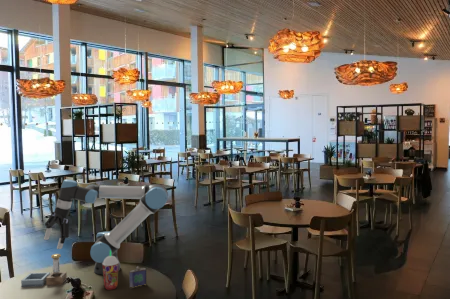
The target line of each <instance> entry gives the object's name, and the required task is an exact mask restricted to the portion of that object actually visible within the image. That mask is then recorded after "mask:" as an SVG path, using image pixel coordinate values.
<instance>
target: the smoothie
mask: <svg viewBox="0 0 450 299" xmlns="http://www.w3.org/2000/svg"><path fill="white" fill-rule="evenodd" d="M118 260H119V259H118ZM118 260H117V258H116V257H115V256H111V251H110V256H107V257H106V258H105V259H104V261H103V263H102V264H103V274H102V275H103V284H104V285H103V286H104V288H105V290H107V291H111V290H115V289H116V288H117V287H118V284H119V271H118V266H119V262H120V260H119V261H118Z"/></svg>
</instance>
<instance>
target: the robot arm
mask: <svg viewBox="0 0 450 299" xmlns="http://www.w3.org/2000/svg"><path fill="white" fill-rule="evenodd" d="M168 195H169V194H168V190H167V188H166V187H165V186H164V185H162V184H159V183H158V184H145V185H143V186H141V185H140V186H139V185H137V186H135V185H101V184H100V185H98V184H97V185H96V184H93V183H91V184H88V185H86V187H84V186H79V185H78V182H77V181H76V180H74V179H67V178H66V179H64V180H63V181H62V184H61V187H60V191H59V195H58V198H57V201H56V206H55V208H54V211H52V212H51V214H50V216H49V217H48V219H47V220H46V222H45V224H44V226H45V227H46V229H45V233H44V237H43V240H46V241H48V240H50V237H51V233H52V230H53V229H52V228H53V226H55V225H56V224H58V226H59V230H60V231H59V232H60V236H59V239H58V242H57V246H56V250H62V249H63V246H64V243H65V240H66V239H67V238H68V239H69V236H70V232H69V226H70V219H69V218H68V219H67V216H68V215H69V214H70V211H71V208H72V207H71V206H72V204H73V200H77V201H81V202H85V203H87V204H94V203H96V200H97V199H121V200H122V199H125V200H126V199H131V200H139V202H138V204H137V205H136V206H135V207H133V209H132V210H131V211H130V212H129V213H128V214H127V215H126V216H125V217H124V218H123V219H122V220H121V221H119V223H118V224H117V225H115V227H113V229H112V230H110V231H101V232H97V233H96V241H95V242H94V244H93V245H91V247H90V252H89V253H90V257H91V260H93V261H94V262H95V264H94V266H93V267H94V268H93V269H94V270H93V272H94V273H95V274H97V275H103V264H102V263H103V261H104V259H105V258H106V257H107V256H110V251H111V256H115V257H116V258H117V260H118V261H119V266H118V272H119V271H120V270H121V269H120V268H121V263H120V260H119V257H118V250H119V249H120V247H121V243H122V242H123V241H124V240H125V239H126V238H127V237H129V235H130V234H131V233H133V232H134V230H135V229H136V228H138V227H139V226H140V225H141V224H142V222H144V221H145V220H146V219H147V217H148V216H150V215H152V214H153V215H154V214H155V213H156V212H158V211H159V210H160V209H162V208H163V207H164V206H166V204H167V201H168Z"/></svg>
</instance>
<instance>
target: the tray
mask: <svg viewBox="0 0 450 299" xmlns="http://www.w3.org/2000/svg"><path fill="white" fill-rule="evenodd" d="M50 274H51V272H30V273H28V274H27V275H26V276H25V277H24V278H22V279H21V280H20V281H21V282H20V284H21V287H22V288H29V287H32V288H33V287H43V286H44V285H46V278H47V277H48V276H49V275H50Z"/></svg>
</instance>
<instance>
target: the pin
mask: <svg viewBox="0 0 450 299" xmlns="http://www.w3.org/2000/svg"><path fill="white" fill-rule="evenodd" d="M50 257H51V259H52V265H53V266H52V269H53V271H52V272H53V277H54V276H60V272H61V271H60V270H61V269H60V258H61V257H62V254H61V253H53V254H51V256H50Z"/></svg>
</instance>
